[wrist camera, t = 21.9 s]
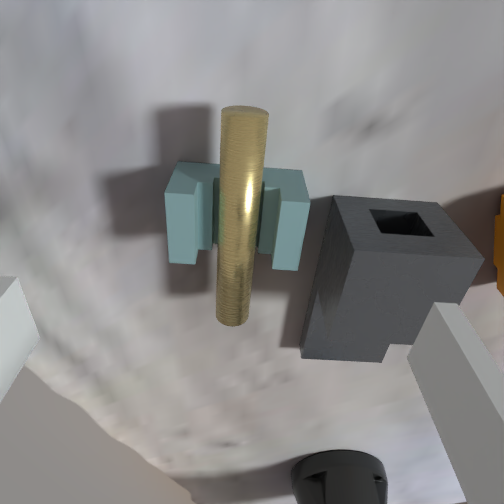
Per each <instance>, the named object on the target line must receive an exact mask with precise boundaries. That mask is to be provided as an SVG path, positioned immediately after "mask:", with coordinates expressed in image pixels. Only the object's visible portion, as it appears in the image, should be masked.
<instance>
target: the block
mask: <svg viewBox="0 0 504 504" xmlns="http://www.w3.org/2000/svg"><path fill="white" fill-rule="evenodd" d="M484 260H485V258H484V257H483V256H482V255H481V253H480V252H479V251H478V250H477V249H476V248H475V246H474V245H473V244H472V243H471V242H470V240H469V239H468V238H467V237H466V236H465V235H464V233H463V232H462V231H461V230H460V229H459V228H458V226H457V225H456V224H455V223H454V222H453V220H452V219H451V218H450V217H449V216H448V215H447V213H446V212H445V211H444V210H443V209H442V207H441V206H440V205H439V204H438V203H435V202H420V201H406V200H392V199H378V198H364V197H350V196H336V195H333V200H332V204H331V209H330V213H329V217H328V222H327V226H326V230H325V235H324V239H323V243H322V248H321V252H320V257H319V261H318V265H317V270H316V274H315V278H314V283H313V287H312V291H311V296H310V300H309V305H308V309H307V313H306V318H305V322H304V326H303V331H302V335H301V340H300V344H299V345H300V352H301V358H302V359H321V360H340V361H359V362H379V363H382V360H383V358H384V356H385V354H386V351H387V349H388V347H389V345H390V344H406V345H413V344H414V342H415V340H416V338H417V336H418V334H419V332H420V330H421V328H422V326H423V324H424V322H425V320H426V318H427V316H428V314H429V312H430V310H431V307H432V305H433V303H434V302H440V303H456V304H458V306H459V305H460V303H461V301H462V299H463V297H464V296H465V294H466V292H467V290H468V289H469V287H470V285H471V283H472V281H473V280H474V278H475V276H476V274H477V272H478V271H479V269H480V267H481V265H482V264H483V262H484Z"/></svg>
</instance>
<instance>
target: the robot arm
mask: <svg viewBox="0 0 504 504" xmlns="http://www.w3.org/2000/svg"><path fill="white" fill-rule="evenodd" d="M39 339H40V336H39V333H38V331H37V328H36V325H35V323H34V320H33V317H32V315H31V312H30V309H29V307H28V304H27V301H26V299H25V296H24V293H23V290H22V288H21V285H20V282H19V280H18V277H8V276H0V402H1V401H2V399H3V398H4V396H5V394H6V393H7V391H8V390H9V388H10V386H11V385H12V383H13V381H14V380H15V378H16V376H17V375H18V373H19V372H20V370H21V368H22V367H23V365H24V364H25V362H26V360H27V359H28V357H29V355H30V354H31V352H32V351H33V349H34V347H35V346H36V344H37V342H38V341H39ZM407 359H408V362H409V364H410V366H411V369H412V371H413V374H414V376H415V378H416V381H417V383H418V385H419V388H420V390H421V393H422V395H423V397H424V400H425V402H426V405H427V407H428V409H429V412H430V414H431V416H432V419H433V421H434V424H435V426H436V428H437V431H438V433H439V436H440V438H441V440H442V443H443V445H444V448H445V450H446V452H447V455H448V457H449V459H450V462H451V464H452V467H453V469H454V471H455V474H456V476H457V479H458V481H459V483H460V486H461V488H462V491H463V493H464V495H465V498H466V500H467V502H468V504H504V374H503V373H502V371H501V370H500V368H499V367H498V365H497V364H496V362H495V361H494V359H493V358H492V356H491V355H490V353H489V351H488V350H487V348H486V347H485V345H484V344H483V342H482V341H481V339H480V338H479V336H478V335H477V333H476V332H475V330H474V328H473V327H472V325H471V324H470V322H469V321H468V319H467V318H466V316H465V315H464V313H463V312H462V310H461V309H460V307H459V306H458V304H456V303H440V302H434V303H433V305H432V307H431V310H430V312H429V314H428V316H427V318H426V320H425V322H424V324H423V326H422V328H421V330H420V332H419V334H418V336H417V338H416V340H415V342H414V344H413V346H412V348H411V350H410V352H409V354H408V356H407ZM291 477H292V489H293V493H294V495H295V498H296V501H297V503H298V504H387V494H388V482H387V477H386V473H385V469H384V466H383V464H382V462H381V461H380V460H379V459H377V458H376V457H374V456H371V455H369V454H366V453H362V452H356V451H331V452H325V453H320V454H316V455H313V456H310V457H308V458H306V459H304V460H302V461H301V462H299V463H298V464H297V465H296V466H295V467H294V468H293V470H292V473H291Z"/></svg>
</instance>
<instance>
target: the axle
mask: <svg viewBox="0 0 504 504" xmlns="http://www.w3.org/2000/svg"><path fill="white" fill-rule="evenodd" d="M268 117H269V113H268V112H267V111H265V110H263V109H260V108H256V107H251V106H229V107H225V108H223V109H222V110H221V144H220V180H219V216H218V252H217V288H216V318H217V319H218V321H219V322H220V323H222V324H224V325H227V326H239V325H241V324H243V323H245V322H246V320H247V319H248V315H249V305H250V295H251V285H252V275H253V266H254V256H255V246H256V236H257V226H258V216H259V206H260V196H261V186H262V176H263V167H264V157H265V147H266V137H267V127H268Z"/></svg>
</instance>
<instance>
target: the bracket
mask: <svg viewBox="0 0 504 504" xmlns="http://www.w3.org/2000/svg"><path fill="white" fill-rule="evenodd" d="M493 264H494V265H495V266H496V267H497V268H498V273H497V289H498V290H499V291H500V293H501V294H502V295H503V296H504V194H503V195H501V212H500V215H497V216H495V236H494V262H493Z"/></svg>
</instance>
